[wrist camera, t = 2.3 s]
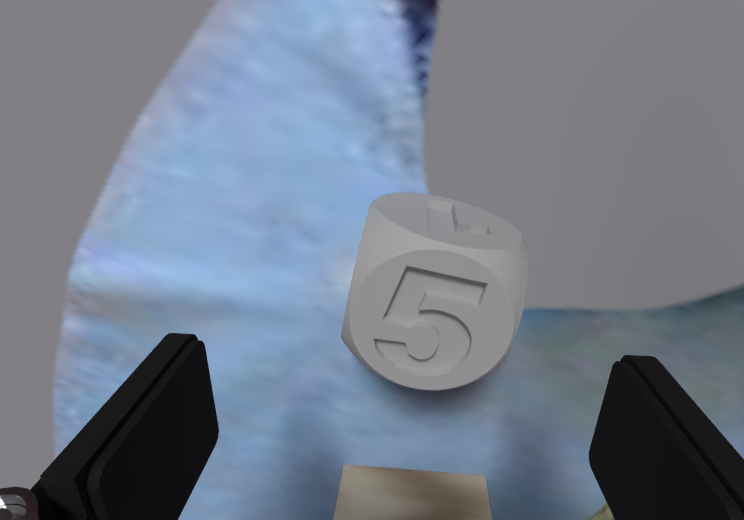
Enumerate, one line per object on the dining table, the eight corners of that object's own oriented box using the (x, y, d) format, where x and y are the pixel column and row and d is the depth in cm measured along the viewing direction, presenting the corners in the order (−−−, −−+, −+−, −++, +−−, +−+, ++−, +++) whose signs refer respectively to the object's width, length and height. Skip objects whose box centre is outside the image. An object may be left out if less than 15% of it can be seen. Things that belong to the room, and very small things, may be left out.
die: (510, 211, 16) (545, 267, 12) (472, 323, 18) (488, 408, 14) (378, 182, 16) (362, 226, 12) (354, 297, 18) (332, 373, 14)
